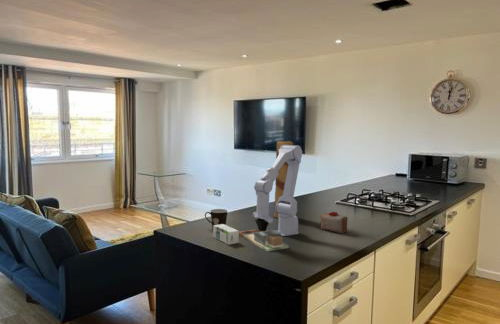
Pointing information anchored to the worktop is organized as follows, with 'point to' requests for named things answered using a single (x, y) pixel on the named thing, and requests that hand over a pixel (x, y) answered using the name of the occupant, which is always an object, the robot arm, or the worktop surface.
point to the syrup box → (226, 234)
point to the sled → (273, 241)
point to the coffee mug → (217, 216)
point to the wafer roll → (280, 176)
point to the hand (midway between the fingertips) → (262, 234)
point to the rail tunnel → (261, 238)
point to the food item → (334, 222)
